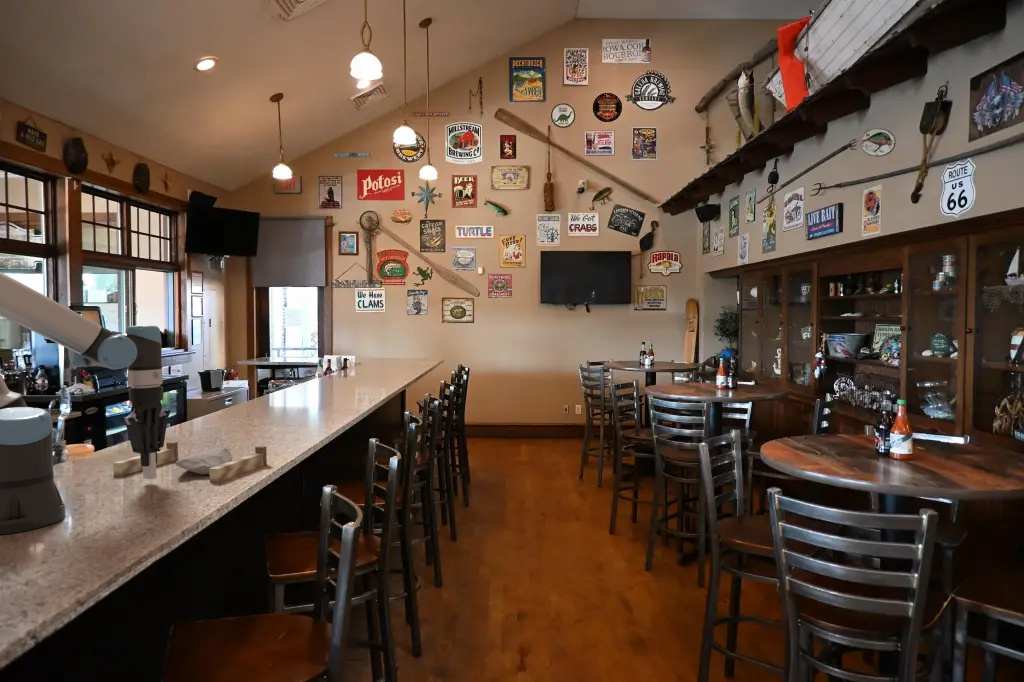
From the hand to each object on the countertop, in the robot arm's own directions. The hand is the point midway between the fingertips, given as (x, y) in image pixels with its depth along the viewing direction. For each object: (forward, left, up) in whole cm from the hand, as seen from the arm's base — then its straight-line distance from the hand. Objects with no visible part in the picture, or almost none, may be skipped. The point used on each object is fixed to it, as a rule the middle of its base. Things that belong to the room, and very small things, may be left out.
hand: (149, 477), depth 159 cm
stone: (+19, -2, -2) cm, 19 cm away
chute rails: (+15, 0, -2) cm, 15 cm away
